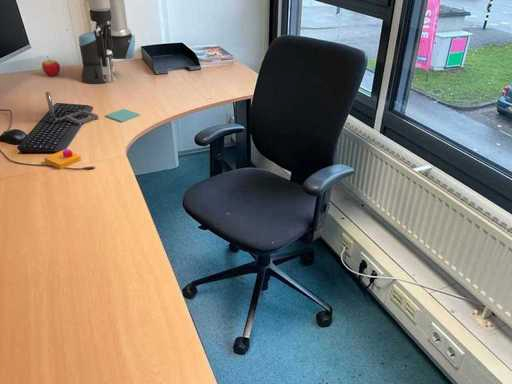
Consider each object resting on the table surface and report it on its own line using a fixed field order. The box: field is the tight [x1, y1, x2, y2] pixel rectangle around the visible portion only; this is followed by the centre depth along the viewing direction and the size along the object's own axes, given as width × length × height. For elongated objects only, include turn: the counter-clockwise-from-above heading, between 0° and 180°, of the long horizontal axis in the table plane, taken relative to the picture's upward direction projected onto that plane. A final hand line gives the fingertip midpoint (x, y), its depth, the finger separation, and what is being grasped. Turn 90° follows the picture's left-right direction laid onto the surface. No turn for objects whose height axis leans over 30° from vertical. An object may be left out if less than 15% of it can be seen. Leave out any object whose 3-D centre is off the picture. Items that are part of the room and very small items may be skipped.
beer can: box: [100, 49, 117, 84], centre depth 165 cm, size 5×5×12 cm
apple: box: [41, 55, 61, 77], centre depth 218 cm, size 8×8×10 cm
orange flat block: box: [43, 148, 82, 170], centre depth 140 cm, size 8×8×4 cm
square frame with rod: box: [45, 91, 99, 126], centre depth 168 cm, size 14×14×12 cm
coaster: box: [104, 108, 141, 123], centre depth 177 cm, size 10×10×1 cm
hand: (108, 72), depth 166 cm, fingers closed on beer can, 5 cm apart
